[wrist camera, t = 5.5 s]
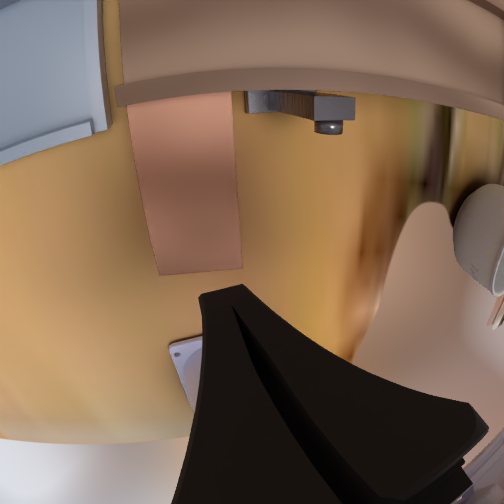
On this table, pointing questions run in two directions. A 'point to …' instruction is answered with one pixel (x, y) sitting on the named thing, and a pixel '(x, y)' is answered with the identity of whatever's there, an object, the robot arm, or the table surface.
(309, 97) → the lever stand
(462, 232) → the teacup
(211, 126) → the lever
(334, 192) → the table surface
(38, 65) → the bin
